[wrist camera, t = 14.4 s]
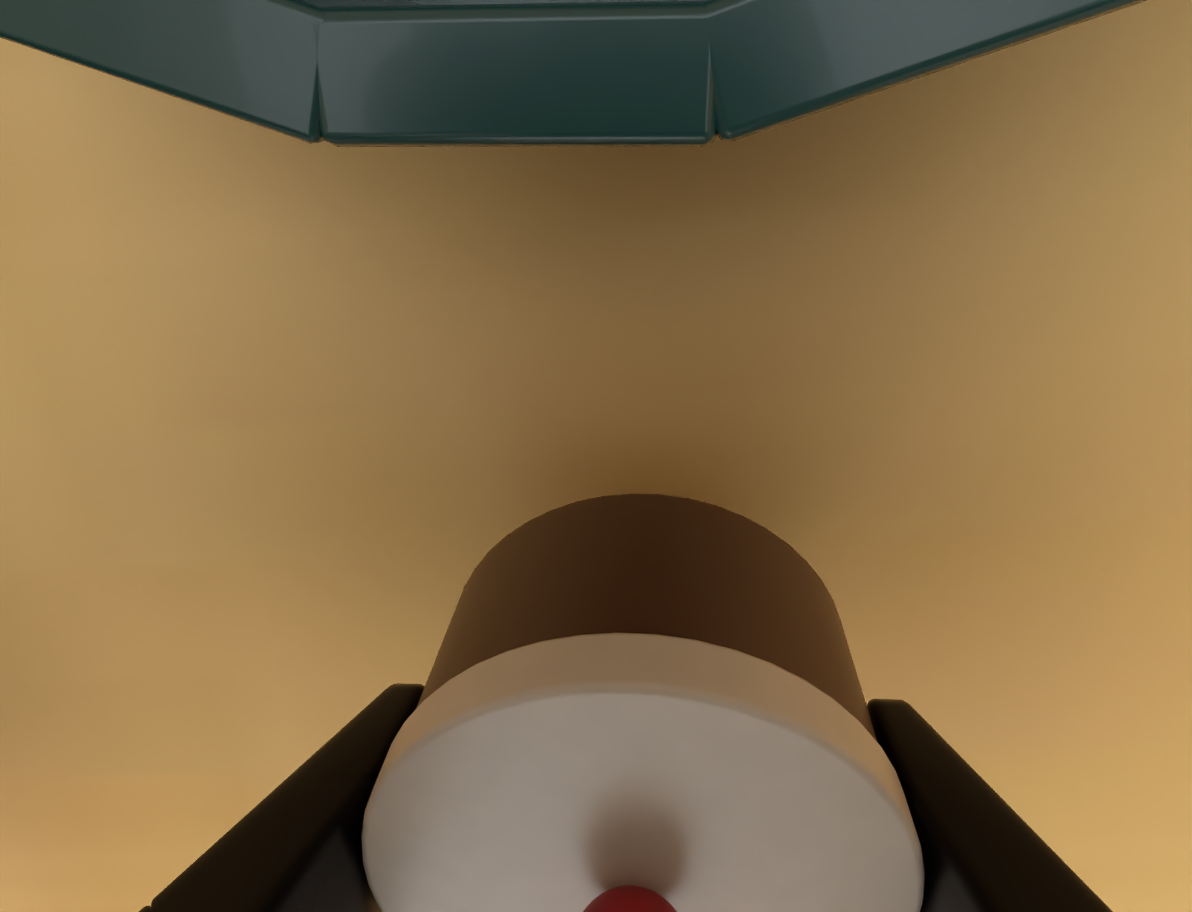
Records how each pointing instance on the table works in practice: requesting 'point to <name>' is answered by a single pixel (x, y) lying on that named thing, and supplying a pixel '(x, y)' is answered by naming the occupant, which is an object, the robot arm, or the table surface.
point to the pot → (528, 61)
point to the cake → (641, 733)
